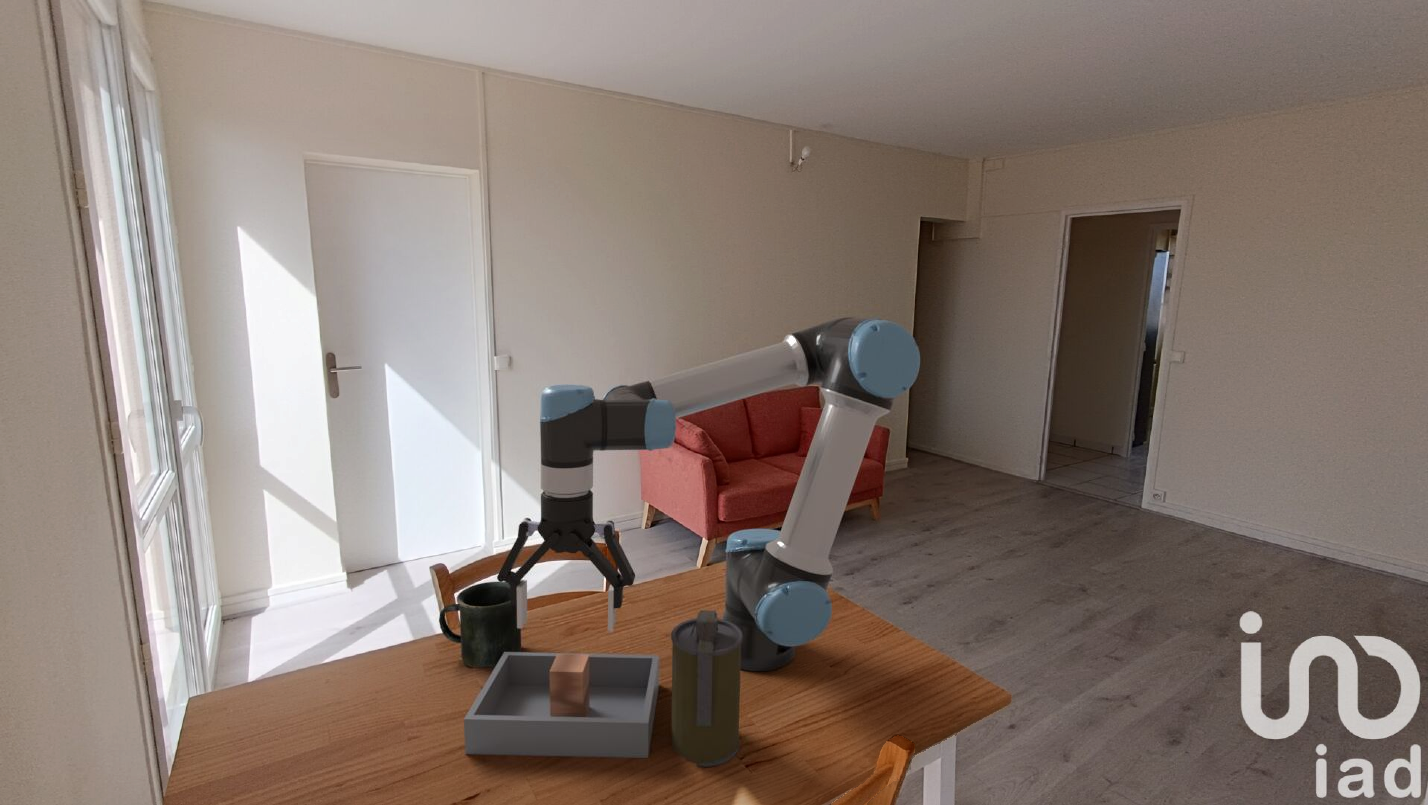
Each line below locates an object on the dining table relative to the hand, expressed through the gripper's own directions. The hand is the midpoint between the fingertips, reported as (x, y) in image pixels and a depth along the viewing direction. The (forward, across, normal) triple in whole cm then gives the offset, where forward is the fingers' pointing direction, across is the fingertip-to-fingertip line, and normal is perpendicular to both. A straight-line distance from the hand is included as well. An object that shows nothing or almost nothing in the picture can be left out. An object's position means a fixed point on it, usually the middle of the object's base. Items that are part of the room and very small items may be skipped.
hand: (566, 625), depth 100 cm
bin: (+16, 0, 0) cm, 16 cm away
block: (+15, 0, 0) cm, 15 cm away
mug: (+16, +20, -18) cm, 31 cm away
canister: (+16, -22, +5) cm, 27 cm away
